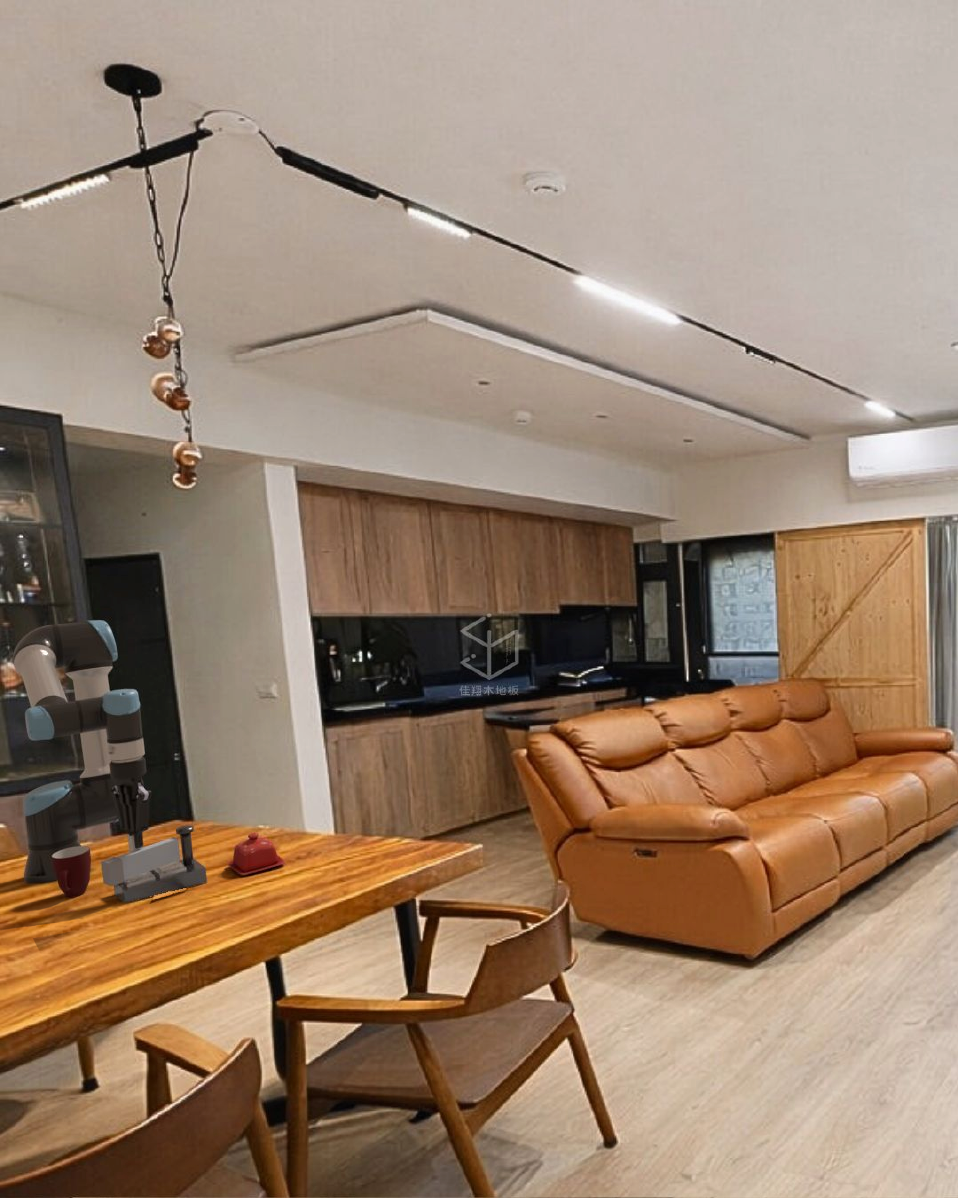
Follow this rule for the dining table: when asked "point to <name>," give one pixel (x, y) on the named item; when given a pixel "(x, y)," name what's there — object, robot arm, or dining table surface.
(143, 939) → the dining table surface
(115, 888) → the grey stepped machine part
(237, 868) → the butter dish
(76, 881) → the mug
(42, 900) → the dining table surface
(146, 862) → the light grey bar
